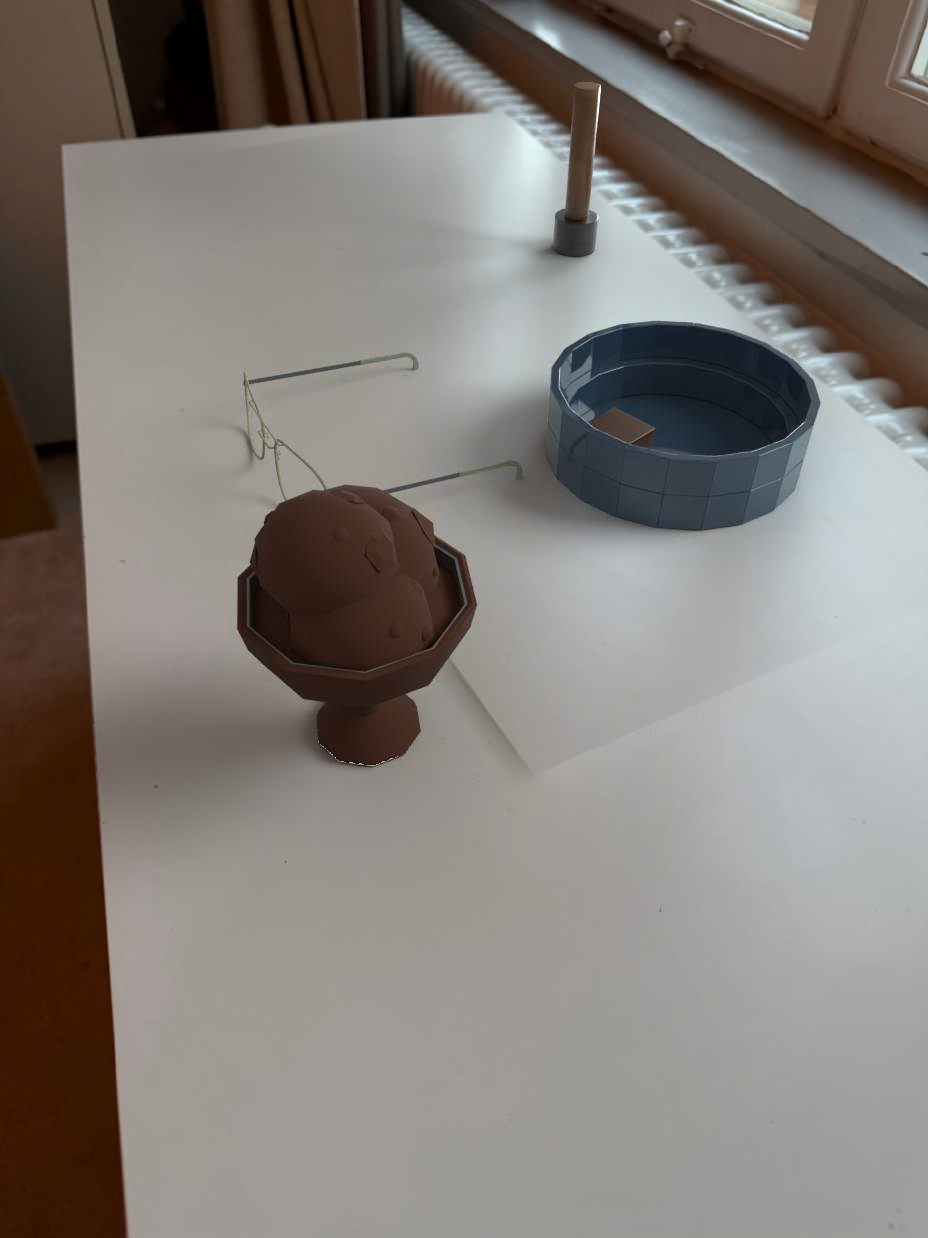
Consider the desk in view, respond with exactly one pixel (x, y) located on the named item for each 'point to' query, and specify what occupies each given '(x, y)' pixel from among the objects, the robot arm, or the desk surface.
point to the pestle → (579, 177)
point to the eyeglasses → (391, 490)
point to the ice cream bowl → (354, 612)
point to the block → (624, 428)
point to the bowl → (681, 423)
